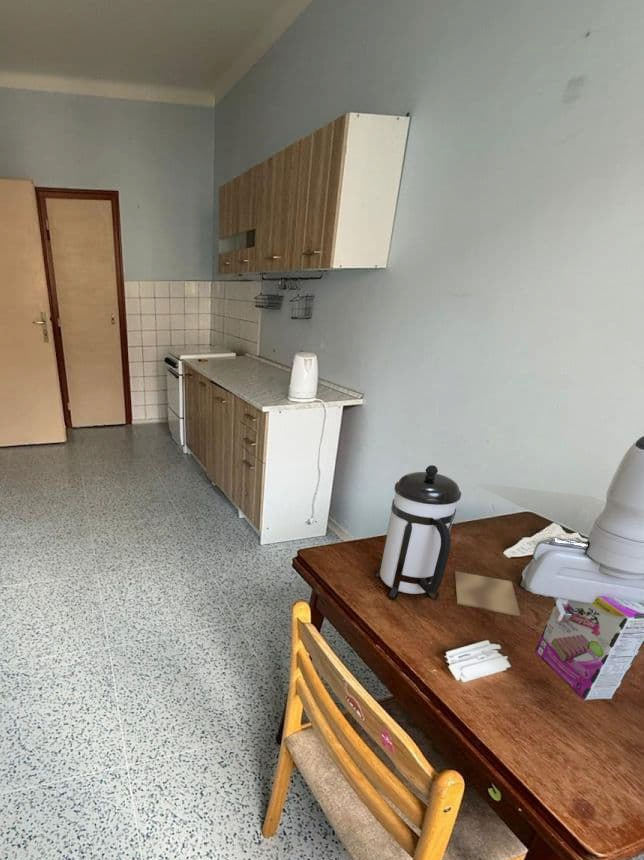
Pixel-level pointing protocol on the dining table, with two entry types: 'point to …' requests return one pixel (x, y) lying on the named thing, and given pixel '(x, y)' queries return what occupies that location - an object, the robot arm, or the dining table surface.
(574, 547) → the robot arm
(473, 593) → the cork pad
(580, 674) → the candy bar box
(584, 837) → the dining table surface
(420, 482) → the coffee press
